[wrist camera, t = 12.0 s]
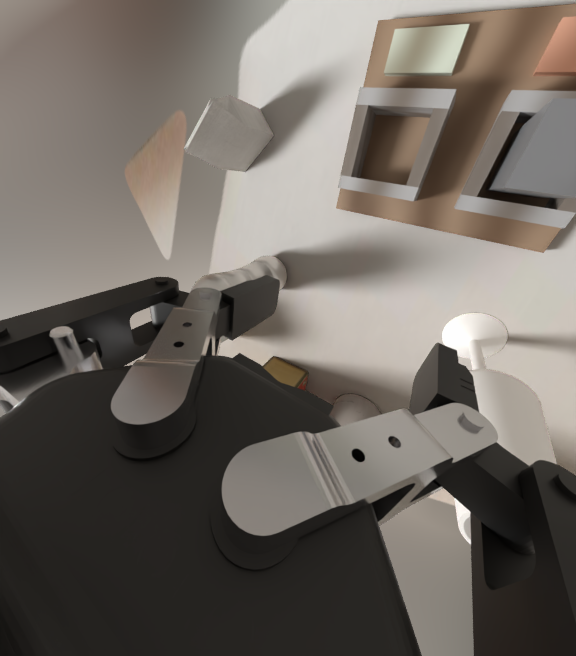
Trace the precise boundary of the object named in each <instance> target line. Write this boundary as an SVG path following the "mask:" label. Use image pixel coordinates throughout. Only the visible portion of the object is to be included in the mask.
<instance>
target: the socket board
mask: <svg viewBox="0 0 576 656" xmlns="http://www.w3.org/2000/svg"><path fill="white" fill-rule="evenodd" d="M553 98H569V99H576V4H567V5H555V6H544V7H532V8H520V9H508V10H496V11H485V12H473V13H461V14H449V15H438V16H426V17H414V18H402V19H390V20H379V21H378V25H377V29H376V34H375V38H374V42H373V47H372V51H371V56H370V60H369V65H368V69H367V73H366V78H365V82H364V87H360V90H359V94H358V99H357V103H356V108H355V112H354V117H353V121H352V126H351V131H350V135H349V140H348V144H347V149H346V153H345V158H344V162H343V167H342V171H341V176H340V181H339V185H338V188H341V189H340V193H339V197H338V202H337V206H336V208H337V209H342V210H347V211H351V212H356V213H361V214H365V215H370V216H375V217H379V218H384V219H389V220H393V221H398V222H402V223H407V224H412V225H416V226H421V227H426V228H430V229H435V230H440V231H444V232H449V233H454V234H458V235H463V236H468V237H472V238H477V239H481V240H486V241H491V242H495V243H500V244H505V245H509V246H514V247H519V248H523V249H528V250H533V251H537V252H542V253H544V251H545V250H546V248H547V247H548V246H549V244H550V243H551V242H552V240H553V239H554V238H555V236H556V235H557V233H558V232H559V231H560V229H561V228H563V229H565V227H566V226H567V225H568V223H569V222H570V220H571V219H572V218H573V216H574V215H575V214H576V198H539V197H531V196H524V195H517V194H509V193H502V192H495V191H487V190H486V188H487V186H488V184H489V182H490V180H491V178H492V176H493V174H494V172H495V170H496V168H497V166H498V164H499V162H500V160H501V158H502V156H503V154H504V152H505V150H506V149H507V147H508V145H509V143H510V141H511V139H512V137H513V135H514V133H515V132H516V131H517V130H519V129H520V128H521V127H522V126H523V125H524V124H525V123H526V122H527V121H528V120H530V119H531V118H532V117H533V116H534V115H535V114H536V113H537V112H538V111H540V110H541V109H542V108H543V107H544V106H545V105H546V104H547V103H548V102H550V101H551V100H552V99H553Z"/></svg>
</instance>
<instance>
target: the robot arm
mask: <svg viewBox="0 0 576 656" xmlns="http://www.w3.org/2000/svg"><path fill="white" fill-rule="evenodd" d="M279 288H280V281H279V280H278V279H276V278H273V277H271V276H268V275H265V276H262V277H260V278H257V279H255V280H249V281H245V282H243V283H241V284H237V285H235V286H232V287H229V288H227V289H224V290H222V291H218V290H216V289H213V288H206V287H203V288H196V289H194V290H192V291H191V292H190V293H187V292H183V291H179V287H178V281H177V280H175V279H173V278H169V277H155V278H151V279H147V280H144V281H140V282H137V283H133V284H129V285H126V286H122V287H118V288H115V289H112V290H108V291H104V292H101V293H97V294H94V295H90V296H86V297H83V298H79V299H76V300H72V301H69V302H66V303H62V304H58V305H55V306H51V307H48V308H44V309H40V310H37V311H33V312H30V313H26V314H23V315H19V316H15V317H12V318H9V319H5V320H1V321H0V407H1V408H2V409H3V411H4V412H5V413H6V414H5V415H3V416H2V417H0V656H422V655H421V652H420V649H419V646H418V643H417V640H416V637H415V634H414V631H413V627H412V624H411V621H410V618H409V615H408V612H407V609H406V606H405V603H404V601H403V597H402V594H401V591H400V588H399V585H398V582H397V579H396V576H395V573H394V570H393V567H392V564H391V561H390V558H389V554H388V552H387V548H386V545H385V542H384V540H383V536H382V533H381V530H380V527H379V526H380V525H382V524H384V523H385V522H387V521H388V520H390V519H391V518H393V517H394V516H395V515H397V514H398V513H399V512H401V511H402V510H404V509H406V508H408V507H409V506H411V505H413V504H415V503H417V502H419V501H420V500H422V499H424V498H426V497H428V496H430V495H432V494H434V493H436V492H437V491H439V490H441V489H443V488H444V489H446V490H447V491H448V492H449V493H450V494H451V495H452V496H453V497H454V498H456V499H457V500H458V501H459V502H460V503H461V504H462V505H463V506H464V507H466V508H467V509H468V510H469V511H470V522H471V556H472V557H471V560H472V596H473V598H472V599H473V636H474V656H576V476H575V475H574V474H572V473H571V472H569V471H568V470H566V469H564V468H563V467H561V466H559V465H557V464H555V463H552V462H549V461H545V460H537V461H535V462H534V463H533V464H531V465H530V466H529V465H527V464H526V463H524V462H523V461H522V460H520V459H519V458H517V457H516V456H514V455H513V454H511V453H510V452H509V451H507V450H506V449H505V448H503V447H502V446H501V445H499V444H498V443H497V440H498V434H497V431H496V429H495V428H494V426H493V425H492V424H491V422H490V421H489V420H488V419H487V418H486V417H484V416H483V415H482V414H481V413H479V408H478V402H477V397H476V393H475V386H474V380H473V376H472V374H471V373H470V372H469V370H468V369H467V368H466V366H463V365H461V364H459V363H458V355H457V350H455V349H452V348H450V347H447V346H445V345H442V344H440V343H436V344H435V346H434V347H433V348H432V350H431V352H430V353H429V355H428V356H427V358H426V359H425V361H424V362H423V364H422V366H421V367H420V369H419V370H418V372H417V374H416V376H415V379H414V382H413V389H412V395H411V401H410V407H409V410H408V409H407V408H402V409H398V410H395V411H392V412H388V413H385V414H381V413H380V412H379V410H378V408H377V407H376V406H375V405H374V404H373V403H372V402H370V401H369V400H367V399H366V398H364V397H361V396H358V395H354V394H345V395H342V396H340V397H338V398H337V400H336V401H335V403H334V405H331V404H329V403H327V402H326V401H324V400H322V399H320V398H319V397H317V396H315V395H313V394H311V393H310V392H308V391H305V390H302V389H299V388H296V387H293V386H290V385H287V384H284V383H281V382H279V381H278V380H276V379H275V378H274V377H273V376H272V375H271V374H270V373H269V372H268V371H267V370H265V369H264V368H263V367H262V366H261V365H260V364H258V363H256V362H255V361H253V360H251V359H249V358H247V357H246V356H244V355H242V354H240V353H239V354H238V355H236V356H235V357H234V358H229V357H225V356H218V353H219V348H220V343H221V337H222V336H225V337H226V338H228V339H230V340H234V339H235V338H237V337H238V336H240V335H241V334H243V333H245V332H246V331H248V330H249V329H251V328H252V327H254V326H256V325H257V324H259V323H260V322H262V321H263V320H265V319H266V318H268V317H270V316H271V315H272V314H273V313H274V311H275V309H276V306H277V300H278V294H279ZM148 307H150V313H151V319H152V321H151V322H148V323H146V324H144V325H141V326H139V327H137V328H134V329H132V330H131V327H130V318H131V316H132V315H133V314H134V313H136V312H138V311H140V310H143V309H146V308H148ZM144 354H146V356H145V357H144V358H143V359H142V360H137V361H136V362H135V363H134V364H133V365H130V366H125V365H127V364H128V363H130V362H132V361H134V360H135V359H137V358H139V357H141V356H143V355H144Z"/></svg>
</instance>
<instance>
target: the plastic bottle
mask: <svg viewBox="0 0 576 656" xmlns="http://www.w3.org/2000/svg"><path fill="white" fill-rule="evenodd" d="M265 275H268V276H271V277H273V278H276V279H278V280H279V281H280V288H279V291H280V290H281V289H282V288H283V286H284V285H285V283H286V279H287V273H286V269H285V266H284V265H283V263H282V262H281V261H280V260H279V259H278V258H276V257H273V256H262V257H259V258H257V259H256V260H254V261H253V262H251V263H250V264H248V265H246V266H244V267H242V268H240V269H236V270H232V271H228V272H222V273H215V274H209V275H205V276H203V277H201V278H200V279H199V280H198V281H196V282H195V284H194V286H193V287H192V289H191V291H192V290H194V289H196V288H203V287H206V288H213V289H216V290H218V291H222V290H224V289H227V288H229V287H232V286H235V285H237V284H241V283H243V282H245V281H249V280H255V279H257V278H260V277H262V276H265ZM191 291H190V292H191Z"/></svg>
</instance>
